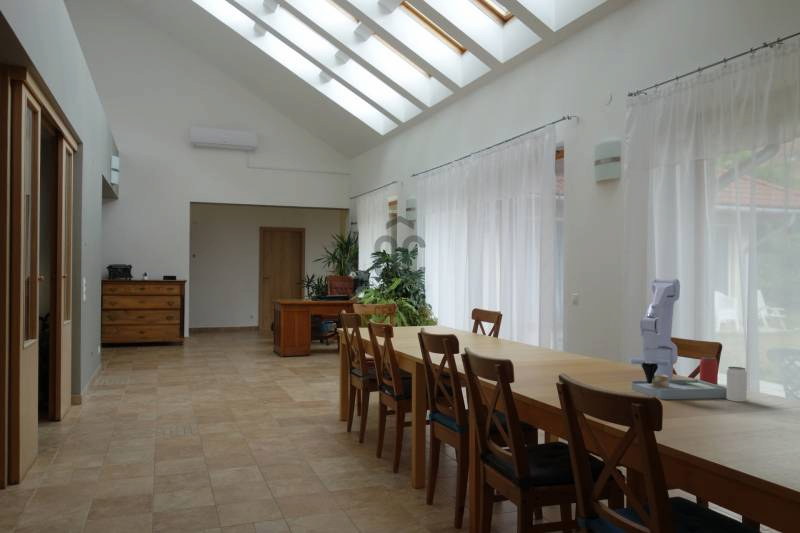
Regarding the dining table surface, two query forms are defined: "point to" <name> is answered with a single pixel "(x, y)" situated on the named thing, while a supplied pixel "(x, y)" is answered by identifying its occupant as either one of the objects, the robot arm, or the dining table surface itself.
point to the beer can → (709, 370)
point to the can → (736, 384)
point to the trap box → (681, 389)
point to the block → (660, 381)
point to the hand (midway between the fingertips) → (649, 383)
